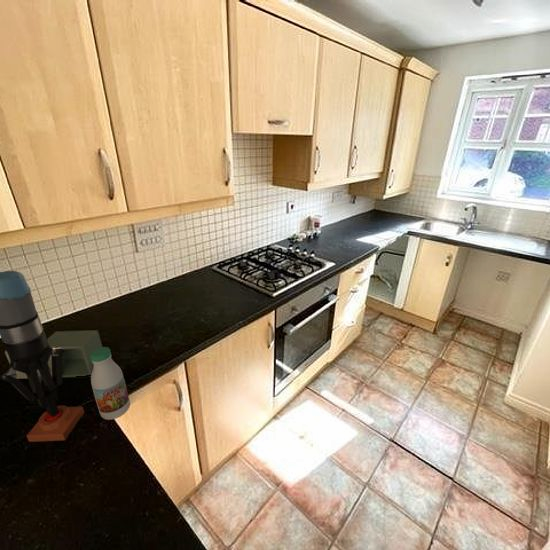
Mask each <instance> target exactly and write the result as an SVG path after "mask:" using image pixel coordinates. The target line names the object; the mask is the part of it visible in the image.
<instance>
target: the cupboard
mask: <svg viewBox="0 0 550 550" xmlns="http://www.w3.org/2000/svg"><path fill="white" fill-rule="evenodd" d="M47 341H48V344H49V346H51V347H52V348H55V347H60V348H62V349H64V353H63V356H62V378H77V377H76V376H86V375H92V371H93V366H94V364H93V363H92V360H91V357H90V354H91V352H92V351H93V350H95V349H97V348H100V347H103V344H102V341H101V337H100V333H99V330H98V329H96V330H65V331H63V330H62V331H55V332H54V333H52V334H51V335H50V336H49V337H48V338H47Z"/></svg>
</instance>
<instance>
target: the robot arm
mask: <svg viewBox="0 0 550 550" xmlns="http://www.w3.org/2000/svg"><path fill="white" fill-rule="evenodd" d="M0 339H1V341H2V343H4V344H3V346H4V349H5V351H7V353H8V356H9V358H10V363H9V369H8V370H7V371H6V372H4V373H1V374H0V379H2V381H4V382H7V383H10V384H11V385H12V386H13V387H14V388H15V389H16V390H17V391H18V392H19V393H20V394H21V395H22V396H23V397H24V398H25V399H26V400H28V401H29V402H31V403H34V402H36V401H37V404H38V405H39V407H41V408H42V409H45V410H46V411H47V413H48V414H50V415H51V416H53V417H54V416H55V415H57V414H58V413H59V411H58V408H57V406H58V405H57V403H56V402H57V401H58V400H59V395H58V387H60V386H61V385H63V377H62V356H63V353H64V349H62V348H60V347H55V348H52V347H51V346H49V344H48V341H47V339H48V338H47V335H46V332H45V331H44V327H43V324H42V321H41V318H40V315H39V313H38V311H37V308H36V305H35V302H34V298H33V294H32V291H31V287H30V286H29V284H28V281H27V279H26V277H25V275H24V274H23V273H22V272H20V271H16V270H5V271H0ZM50 356H52V376H51V374H50V371H49V366H48V361H49V358H50ZM37 370H39V372H40V375H41V377H42V383H43V386H44V388H45V389H46V390H44V388H43V387H42V383H40V381H39V378H38V373H37ZM16 371H19V372H22V373H25V374H26V375H27V378H26V379H27V380H28V382H29V386H30V388H31V390H30V389H29V388H27V386H26V385H25V384H24V383H23V382H22V381H21V380H20V379H17V374H16ZM46 411H45V412H46Z"/></svg>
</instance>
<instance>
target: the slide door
mask: <svg viewBox="0 0 550 550" xmlns="http://www.w3.org/2000/svg"><path fill="white" fill-rule="evenodd" d="M4 354H5V357H6V358H7V361H8V363H9V364H10V358H9V356H8V353H7V351H6V350H5V351H4ZM48 366H49V371H50V374H51V376H52V356H50V358H49V361H48ZM37 373H38V378H39V381H40V383H41V384H42V383H43V380H42V377H41V375H40V372H39V370H37ZM16 374H17V379H18V380H20V379H28V378H27V375H26V374H25V373H22V372H19V371H16Z"/></svg>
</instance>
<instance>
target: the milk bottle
mask: <svg viewBox="0 0 550 550" xmlns="http://www.w3.org/2000/svg"><path fill="white" fill-rule="evenodd" d="M90 357H91V360H92V363H93V364H94V366H93V371H92V375H91V376H90V383H91V388H92V392H93V395H94V399H95V402H96V406H97V409H98V413H99V415H100V417H101V418H102V419H104V420H109V421H111V420H116V419H119V418H121V417H122V416H123V415H125V414H126V413H127V412H128V410H129V409H130V407H131V401H130V396H129V393H128V389H127V384H126V380H125V377H124V374H123V371H122V369H121V367H120V366H119V365H118V364H117V363H116V362H115V361H114V360H113V358H112V352H111V349H110V348H109V347H108V346H102V347H100V348H97V349H95V350H93V351H92V352H91V354H90Z"/></svg>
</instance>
